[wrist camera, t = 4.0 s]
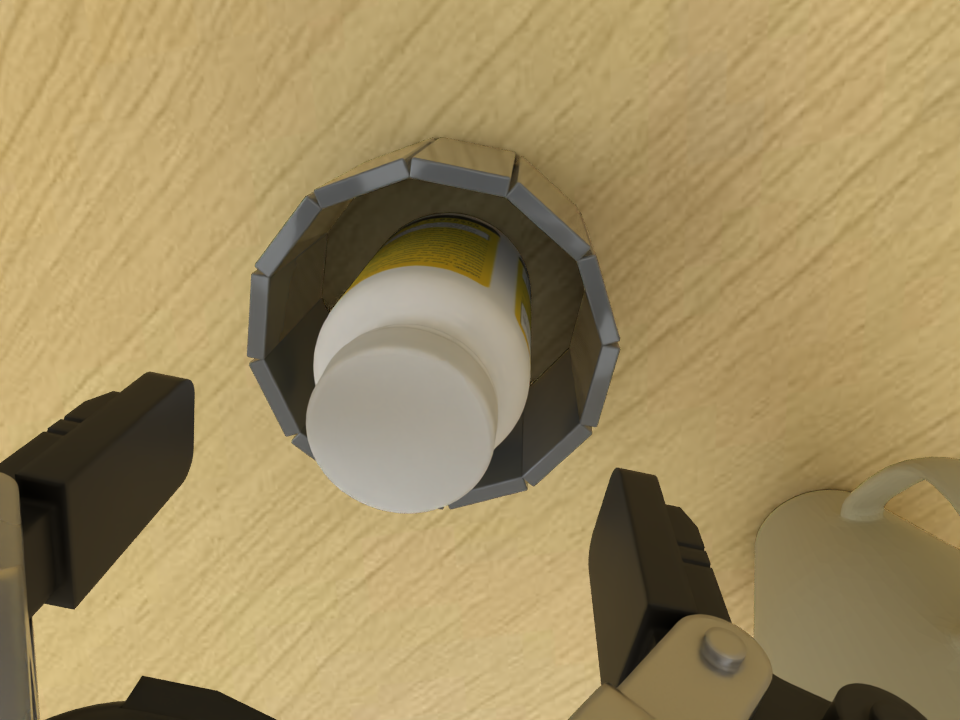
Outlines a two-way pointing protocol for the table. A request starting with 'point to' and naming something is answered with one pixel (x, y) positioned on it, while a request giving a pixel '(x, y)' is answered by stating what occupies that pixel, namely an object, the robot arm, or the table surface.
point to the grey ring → (301, 313)
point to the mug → (863, 592)
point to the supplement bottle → (423, 366)
